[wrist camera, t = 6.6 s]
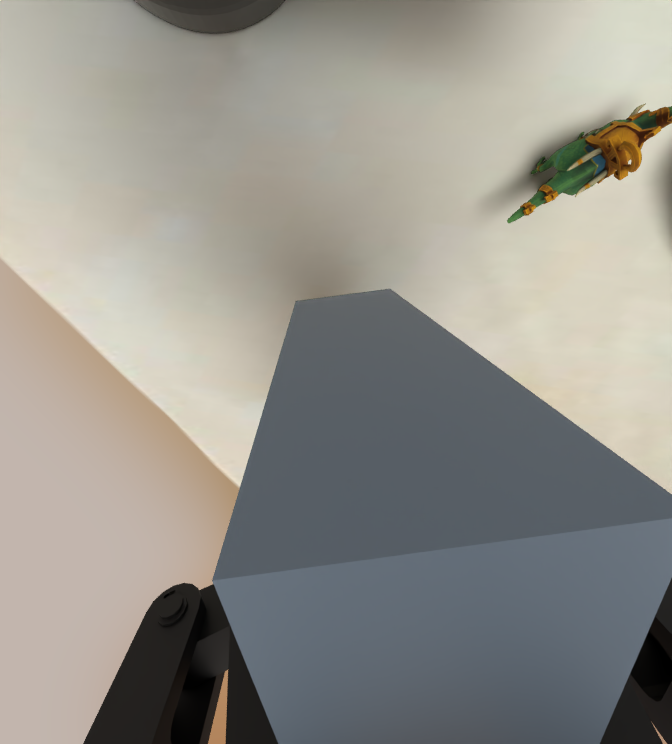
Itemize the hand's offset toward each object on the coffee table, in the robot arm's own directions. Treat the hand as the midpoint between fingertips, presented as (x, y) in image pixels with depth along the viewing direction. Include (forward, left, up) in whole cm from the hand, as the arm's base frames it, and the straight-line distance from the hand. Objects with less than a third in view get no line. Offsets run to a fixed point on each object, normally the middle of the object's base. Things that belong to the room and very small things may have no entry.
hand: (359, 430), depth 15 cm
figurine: (-10, +17, -15) cm, 25 cm away
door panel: (0, 0, -1) cm, 1 cm away
